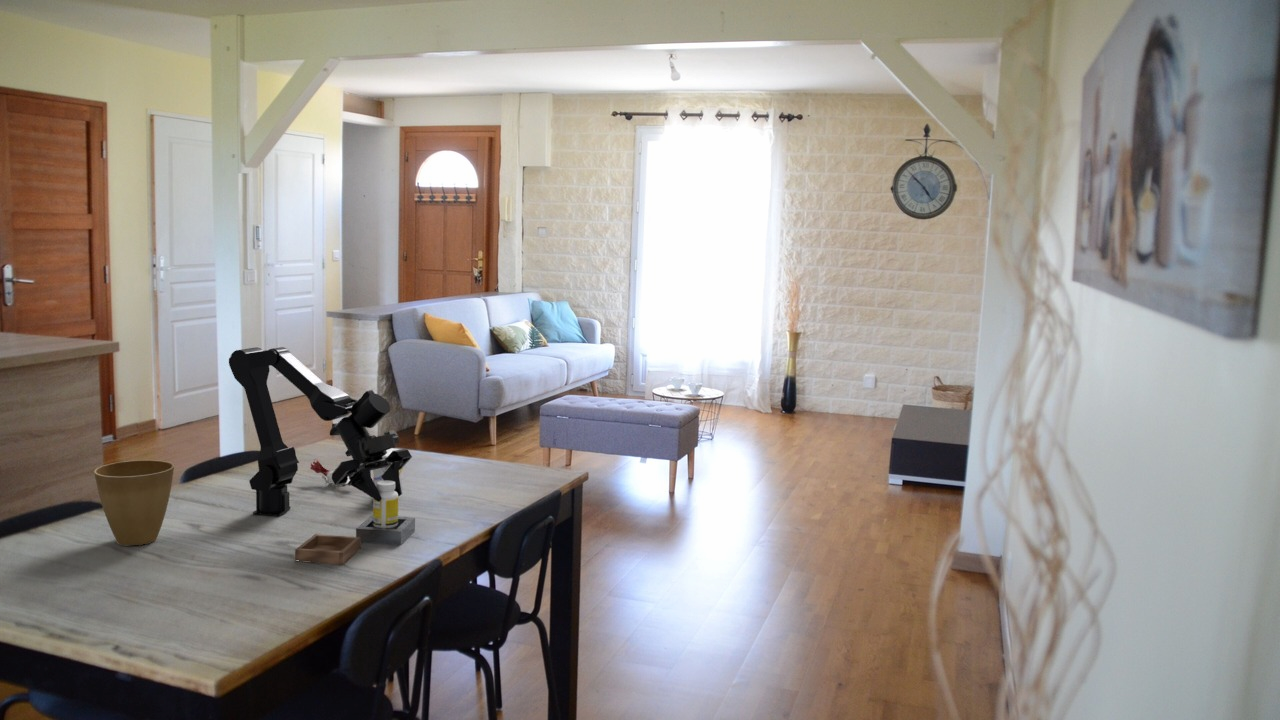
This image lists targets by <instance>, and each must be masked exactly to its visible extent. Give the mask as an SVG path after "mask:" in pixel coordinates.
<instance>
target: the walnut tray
mask: <svg viewBox="0 0 1280 720" xmlns="http://www.w3.org/2000/svg"><path fill="white" fill-rule="evenodd" d="M361 544H362V542H361V537H356V536H349V535H348V536H347V535H346V536H345V535H334V534H332V535H331V534H318V533H317V534H316V533H315V534H313V535H312V536H311V537H309V538H308V539H307V540H306V541H304V542H303V543H302V544H300V545H299V546H298V547H297V548H295V549H294V553H295V554H294V556H295V557H294V558H295V560H299V561H310V562H309V563H312V562H318V563H317V564H326V563H327V564H328V565H341V566H343V565H345V563H347V562H348V561H349V560H350V559H351V558H352V557H353V556H354V555H355V554H356V553H357V552H359V551H360V550H361V547H362V546H361ZM319 562H320V563H319Z"/></svg>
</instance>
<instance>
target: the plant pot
mask: <svg viewBox="0 0 1280 720" xmlns="http://www.w3.org/2000/svg"><path fill="white" fill-rule="evenodd" d="M174 469H175V464H173V462H170V461H166V460H165V461H164V460H156V459H154V460H153V459H139V460H138V459H137V460H126V461H118V462H113V463H107V464H105V465H101V466H98V467H96V468H95V469H94V471H93V473H94V477H95V478H94V479H95V483H96V487H97V492H98V496H99V499H100V503H101V506H102V510H103V512H104V515H105V518H106V520H107V523H108V525H109V529H110V530H111V532H112V534H113V537H114V538H115V540H116V543H117V542H118V543H119V544H118V543H117V544H118V545H120V544H121V545H120V546H123V545H139V546H144V545H143V544H145V545H149V544H151V542H152V543H154V542H155V541H156V540H157V539H158V537H159V535H160V534H159V533H160V531H161V528H162V525H163V523H164V519H165V516H166V514H167V513H166V512H167V509H168V505H169V500H170V497H171V496H170V495H171V490H172V484H173V477H174V471H175V470H174ZM153 541H154V542H153ZM148 543H149V544H148ZM141 544H142V545H141Z"/></svg>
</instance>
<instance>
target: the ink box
mask: <svg viewBox="0 0 1280 720" xmlns="http://www.w3.org/2000/svg"><path fill="white" fill-rule="evenodd" d="M400 449H401V448H400ZM400 449H399V448H390V449H388V450H386V451H387V453H386V454H385V455H384V456H382V458H383V459H384V458H387V457H388V456H389V455H390V454H391V452H392V451H395V450H400ZM403 469H404V467H403V468H402V469H401V470H399V479H400V485H401V492H402V494H403V489H404V487H403V485H404V484H403V480H404V479H403V478H404V477H403V475H404V474H403V473H404V470H403ZM372 473H373V474H372V475H373V477H372V480H373V482H374V484H375V486H376V487H377V482H379V481H384V480H383V478H382V477H381V476H382V475H383V474H384V472H383V470H382V469H381V468H379V469H375V470H372Z"/></svg>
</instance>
